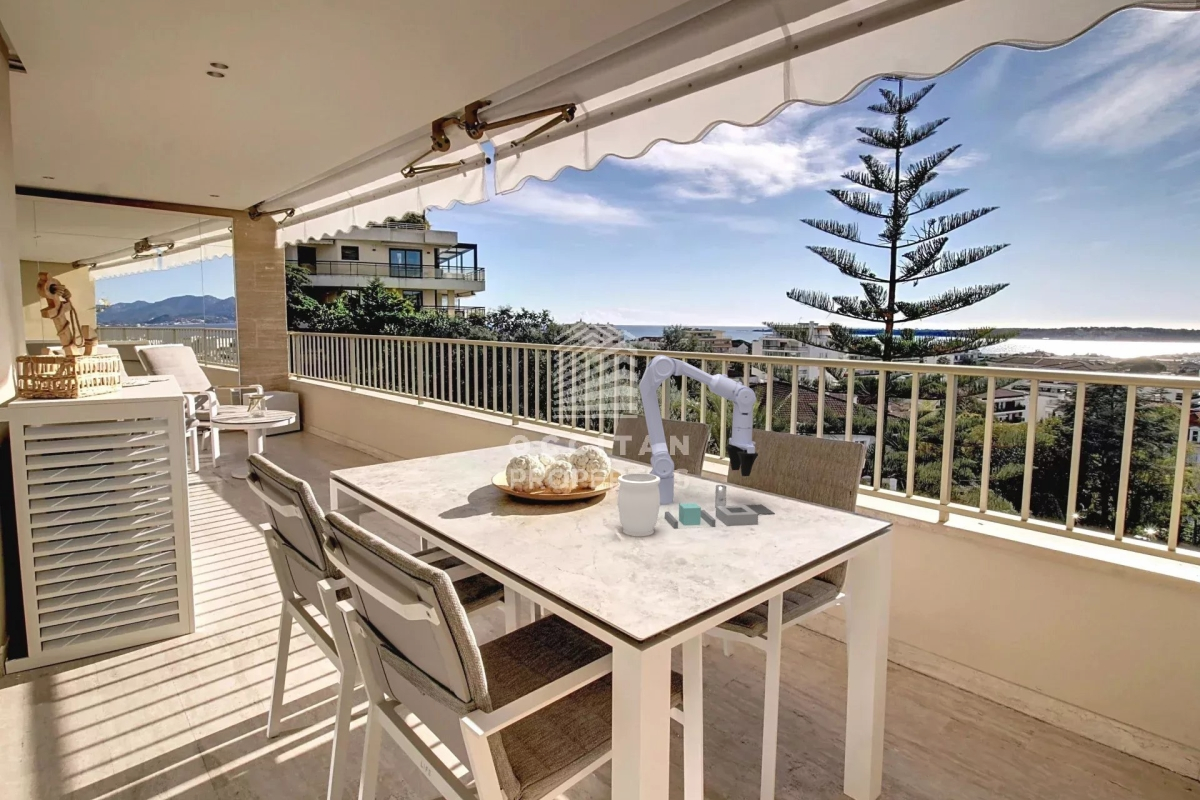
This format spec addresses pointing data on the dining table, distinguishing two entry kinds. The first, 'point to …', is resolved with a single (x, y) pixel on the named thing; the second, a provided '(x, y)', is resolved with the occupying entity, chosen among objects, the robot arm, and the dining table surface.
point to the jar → (638, 503)
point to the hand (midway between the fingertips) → (740, 472)
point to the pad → (760, 509)
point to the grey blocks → (720, 517)
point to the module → (689, 514)
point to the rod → (720, 495)
